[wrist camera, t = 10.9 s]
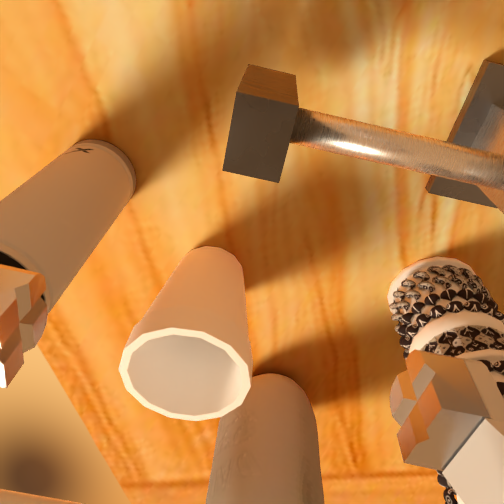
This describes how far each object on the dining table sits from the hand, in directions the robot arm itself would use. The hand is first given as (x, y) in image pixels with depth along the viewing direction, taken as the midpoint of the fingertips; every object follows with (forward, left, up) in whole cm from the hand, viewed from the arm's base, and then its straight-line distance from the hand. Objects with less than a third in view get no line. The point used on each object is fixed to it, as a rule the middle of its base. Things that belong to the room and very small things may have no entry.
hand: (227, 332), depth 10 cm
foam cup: (+18, -2, -27) cm, 33 cm away
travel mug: (+10, -13, -27) cm, 32 cm away
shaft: (0, +8, -22) cm, 23 cm away
